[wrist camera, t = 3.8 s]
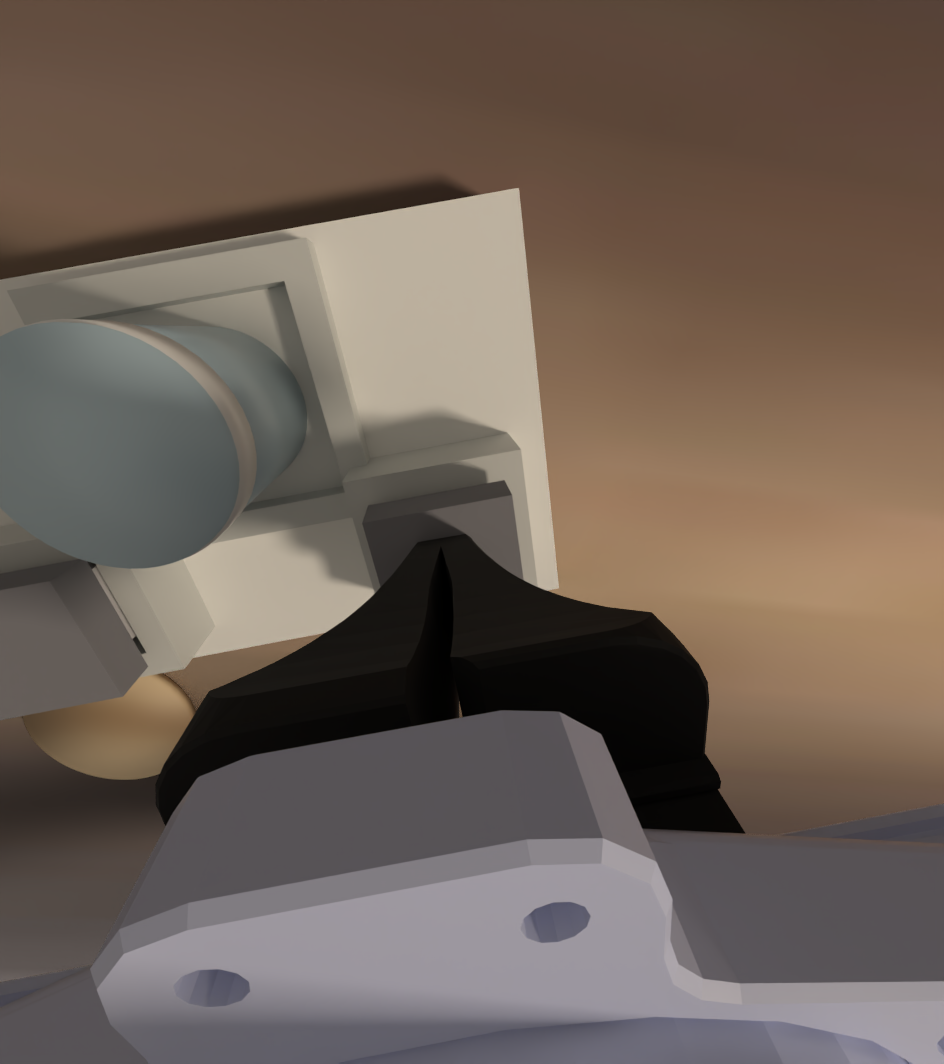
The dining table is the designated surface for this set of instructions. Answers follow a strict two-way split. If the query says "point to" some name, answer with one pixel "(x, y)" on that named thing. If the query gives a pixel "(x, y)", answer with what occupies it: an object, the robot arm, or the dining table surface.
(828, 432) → the dining table surface
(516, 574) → the plunger
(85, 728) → the coaster
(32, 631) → the plunger
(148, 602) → the housing
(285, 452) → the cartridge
